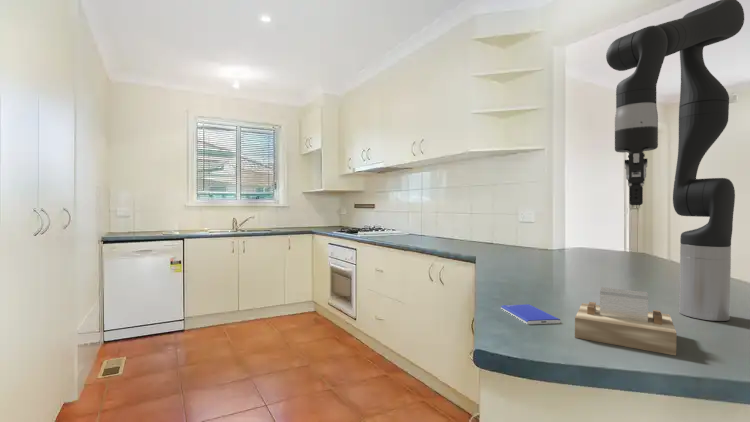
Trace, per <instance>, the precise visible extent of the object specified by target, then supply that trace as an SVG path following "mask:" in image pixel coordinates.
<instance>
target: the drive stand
mask: <svg viewBox="0 0 750 422" xmlns="http://www.w3.org/2000/svg"><path fill="white" fill-rule="evenodd" d="M677 334H678V333H677V331H676V328H675V325H674V323H673V320H672V317H671V314H668V313H662V312H661V310H656V309H652V312H651V311H648V322H641V321H634V320H628V319H621V318H614V317H607V316H600V304H597V302H595V301H589V302H588V303H585V302H582V303H581V304H580V306H579V309H578V310H577V313H576V315H575V317H574V338H575V339H582V340H587V341H592V342H597V343H598V342H599V343H602V344H603V343H604V344H610V345H614V346H620V347H621V346H622V347H626V348H632V349H636V350H637V349H638V350H642V351H643V350H644V351H648V352H654V353H659V354H665V355H671V356H677Z"/></svg>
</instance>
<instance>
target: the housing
mask: <svg viewBox="0 0 750 422" xmlns="http://www.w3.org/2000/svg"><path fill="white" fill-rule="evenodd" d="M599 305H600V316H607V317H614V318H621V319H628V320H634V321H641V322H648V312H649V292H647V291H639V290H638V291H636V290H630V289H629V290H628V289H620V288H613V287H611V288H610V287H603V286H602V287H601V288H600V291H599Z"/></svg>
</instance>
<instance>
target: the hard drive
mask: <svg viewBox="0 0 750 422" xmlns="http://www.w3.org/2000/svg"><path fill="white" fill-rule="evenodd" d="M501 309H503V310H504V311H503V310H502V311H503V312H505V311H506V312H508V313H510V314H511V315H510V314H509V315H510V316H512V315H513V316H515V317H516V318H515V317H514V318H515V319H517V318H518V319H519V320H518V319H517V320H518V321H520V320H521V321H520V322H522V321H523V322H522V323H524V324H525V323H526V325H545V324H547V325H548V324H550V325H551V324H561V322H562V321H561V319H560V318H558V317H556V316H554V315H552V314H551V313H548V312H546V311H544V310H542V309H539V308H537V307H536V306H533V304H532V305H531V304H527V303H526V304H503V305H500V310H501ZM506 312H505V313H506ZM508 313H507V314H508ZM513 316H512V317H513Z"/></svg>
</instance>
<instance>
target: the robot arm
mask: <svg viewBox="0 0 750 422" xmlns="http://www.w3.org/2000/svg"><path fill="white" fill-rule="evenodd" d="M744 22H745V11H744V7H743V5H742V3H740V1H738V0H717V1H714V2H712V3H709V4H707V5H705V6H702V7H699V8H697V9H694V10H693V11H690V12H688V13H686V14H685V15H683V16H682V17H681V18H677V19H673V20H670V21H666V22H662V23H659V24H656V25H649V26H646V27H643V28H640V29H639V30H636V31H633V32H631V33H628V34H626V35H623V36H621V37H618V38H616V39H615V40H613V41H612V43H610V45H609V47H608V48H607V51H606V56H605V58H606V62H607V64H608V66H609V67H610V68H611V69H613V70H616V71H617V72H625V71H628V70H631V69H635V70H634V72H633V73H632V74H630V75H629V76H627V77H625V78H623V80H620V82H618V84H617V86H616V88H615V89H616V90H615V92H616V93H615V98H616V99H615V102H616V103H615V116H614V151H615V152H616V153H622V154H623V153H626V154H627V153H628V155H627V158H628V159H624V169H625V179H626V180H627V186H628V188H629V189H628V191H629V195H628V196H629V198H628V199H629V200H628V201H629V202H628V203H629V205H631V206H641V205H643V202H644V201H643V199H644V198H643V197H644V194H643V193H644V192H643V191H644V185H645V181H646V178H647V167H648V158H645V153H644V152H650V151H654V150H657V148H658V147H659V146H658V145H659V116H658V115H659V114H658V113H659V112H658V107H657V85H658V80H659V77H660V75H661V70H662V66H663V63H664V60H665V57H668V56H671V55H673V54H676V53H678V52H679V61H680V90H679V91H680V93H679V96H680V97H679V106H678V147H677V159H676V167H675V168H676V169H675V176H674V180H673V189H672V190H673V191H672V204H673V208H674V212H675V213H676V214H677V215H679V216H681V217H702V218H703V217H704V218H705V217H706V218H707V217H708V218H709V219H708V222H707V223H706V224H705V225H703V226H701V227H698V228H694V229H691V230H686V231H683V232H682V233H681V234H680V247H679V248H680V250H679V251H680V252H679V254H680V256H679V258H680V260H679V264H680V265H679V296H678V297H679V299H678V300H679V302H678V303H679V304H678V307H679V309H678V311H679V314H681V315H683V316H686V317H689V318H690V317H691V318H694V319H698V320H705V321H714V322H715V321H716V322H725V321H730V317H731V316H730V313H731V311H730V307H731V274H732V272H731V269H732V267H731V265H732V264H731V263H732V262H731V261H732V258H731V257H732V236H733V224H734V223H733V221H734V210H735V201H736V200H735V199H736V192H735V191H736V190H735V185H734V184H733V182H732V181H731V180H730V179H729V178H727V177H726V178H725V177H711V178H707V177H706V178H697V174H698V171H699V170H698V169H699V167H700V164H701V162H702V160H703V158H704V156H705V155H706V154H707V152H708V151H709V149H710V148H711V147H712V146H713V145H714V144H715V142H716V141H718V139H719V137H720V136H721V134H722V133H723V132H724V131H725V129H726V128H727V125H728V122H729V115H730V114H729V111H730V110H729V109H730V108H729V107H730V95H729V92H728V90H727V89H726V88H725V86H724V85H723V84H722V83H721V81H720V80H718V79H717V77H715V76H714V75H713V74H712V73H711V72H710V70H709V69H708V67H707V65H706V64H705V60H704V52H703V51H704V48H705V47H708V46H710V45H711V46H712V45H713V44H717V43H721V42H723V41H727V40H728V39H731V38H732V37H735V35H737V34H739V32H740V31H741V30H742V28H743V27H744Z"/></svg>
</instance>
